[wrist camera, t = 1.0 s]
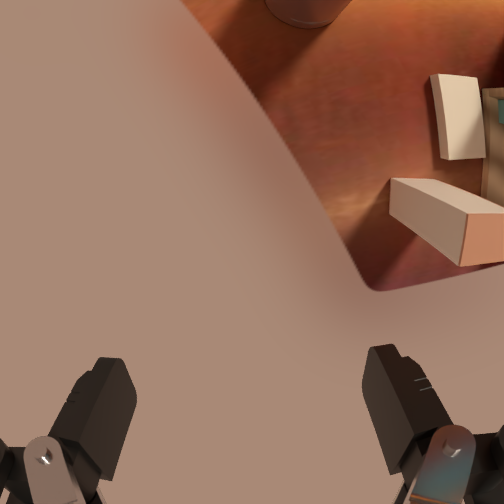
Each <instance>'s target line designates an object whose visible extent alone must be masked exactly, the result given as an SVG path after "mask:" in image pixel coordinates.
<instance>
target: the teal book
mask: <svg viewBox="0 0 504 504" xmlns="http://www.w3.org/2000/svg"><path fill="white" fill-rule="evenodd" d="M498 113H499V123H501V124H504V100H498Z"/></svg>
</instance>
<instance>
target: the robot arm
mask: <svg viewBox="0 0 504 504" xmlns="http://www.w3.org/2000/svg"><path fill="white" fill-rule="evenodd" d="M351 1H352V0H265V2H266V5H267V7H268V8H269V10H270V11H271V12H272V13H273V14H274V15H275V16H276V17H277V18H278V19H280V20H281V21H283V22H285V23H287V24H289V25H292V26H295V27H299V28H318V27H323V26H325V25H327V24H329V23H331V22H332V21H333V20H335V19H336V18H337V16H338V15H339V14H340V13H341V12H342V11H343V9H344V8H345V7H346V6H347V5H348V4H349V3H350V2H351ZM362 392H363V396H364V399H365V402H366V405H367V408H368V411H369V413H370V416H371V419H372V422H373V425H374V428H375V431H376V434H377V437H378V440H379V443H380V446H381V448H382V452H383V455H384V458H385V461H386V464H387V467H388V470H389V473H390V475H393V474H396V473H400V472H402V475H403V478H404V480H403V482H402V484H401V486H400V489H399V490H398V492H397V494H396V496H395V498H394V501H393V503H392V504H461V503H462V500H463V499H464V502H465V504H504V425H503V426H502V428H501V429H500V430H499V432H496V433H487V434H478V435H477V434H472V433H471V432H470V431H469V430H468V429H466V428H465V427H463V426H459V425H454V424H453V422H452V421H451V419H450V417H449V415H448V414H447V412H446V410H445V408H444V407H443V405H442V403H441V401H440V399H439V397H438V396H437V394H436V392H435V390H434V389H433V388H432V385H431V383H430V382H429V380H428V379H427V378H426V375H425V373H424V372H423V370H422V368H421V367H420V365H419V364H417V363H416V362H415V361H414V360H412V359H411V358H410V357H409V356H407V357H401V356H400V354H399V352H398V350H397V349H396V347H395V345H393V344H387V345H381V346H374V347H370V349H369V351H368V356H367V361H366V365H365V370H364V375H363V379H362ZM136 403H137V395H136V390H135V387H134V385H133V383H132V380H131V378H130V376H129V373H128V371H127V369H126V366H125V363H124V362H123V360H122V359H120V358H105V357H100V358H99V359H98V360H97V362H96V363H95V365H94V367H93V369H92V371H87V372H86V373H85V374H83V375H82V376H81V377H80V378H79V379H78V380H77V381H76V383H75V385H74V387H73V389H72V390H71V393H70V394H69V396H68V398H67V402H65V403H64V405H63V407H62V409H61V411H60V413H59V415H58V417H57V419H56V420H55V422H54V425H53V426H52V428H51V430H50V432H49V434H48V436H41V437H37V438H35V439H34V440H32V441H31V442H30V443H29V444H28V445H27V446H26V447H8V446H7V445H6V444H5V443H4V442H3V441H2V440H1V439H0V497H1V494H2V492H3V489H4V488H5V489H7V490H8V491H9V492H10V494H9V497H8V500H7V502H6V504H106V501H105V499H104V497H103V495H102V493H101V491H100V489H99V487H98V482H99V479H104V480H108V481H112V479H113V476H114V473H115V469H116V466H117V462H118V459H119V456H120V453H121V450H122V447H123V444H124V441H125V437H126V434H127V431H128V428H129V425H130V422H131V419H132V416H133V413H134V410H135V407H136Z"/></svg>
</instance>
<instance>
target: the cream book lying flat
mask: <svg viewBox="0 0 504 504" xmlns="http://www.w3.org/2000/svg"><path fill="white" fill-rule="evenodd" d="M430 80H431V85H432V91H433V97H434V103H435V110H436V118H437V126H438V135H439V146H440V158H442V159H446V160H457V159H472V158H486V152H485V136H484V125H483V116H482V107H481V100H480V93H479V87H478V81H477V78H473V77H465V76H456V75H445V74H435V75H430Z"/></svg>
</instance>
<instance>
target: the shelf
mask: <svg viewBox="0 0 504 504" xmlns="http://www.w3.org/2000/svg"><path fill="white" fill-rule="evenodd" d="M482 96H483V117H484V136H485V152H486V158H483V172H482V186H481V196H480V197H482V198H484V199H487V200H489V201H491V202H493V203H496V204H498V205H500V206H502V207H504V124H501V123H499V113H498V100H504V88H484V89H482Z"/></svg>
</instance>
